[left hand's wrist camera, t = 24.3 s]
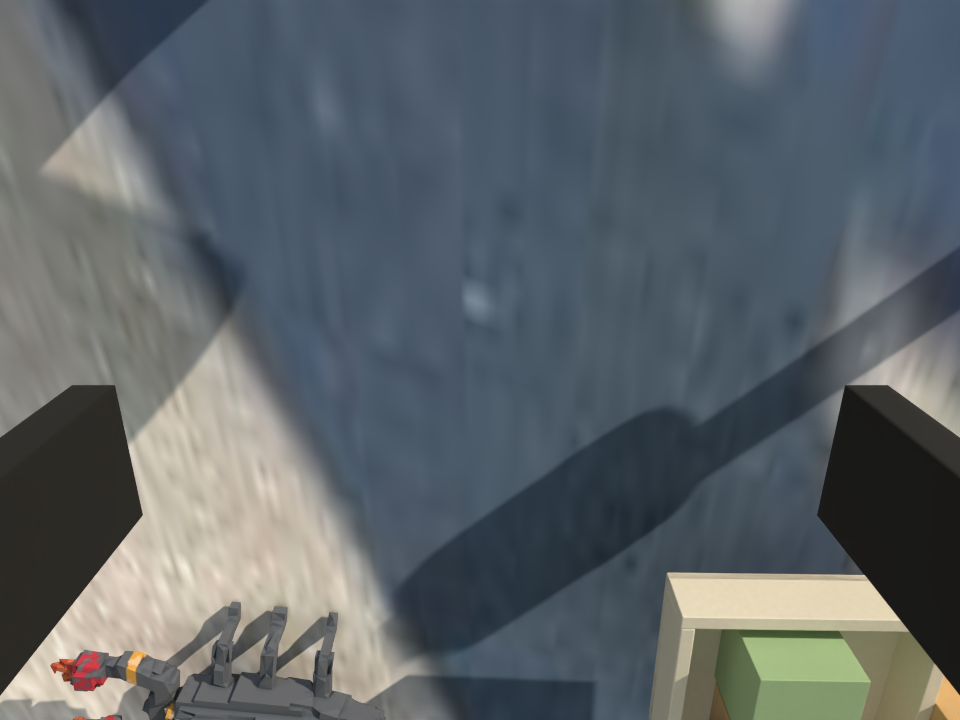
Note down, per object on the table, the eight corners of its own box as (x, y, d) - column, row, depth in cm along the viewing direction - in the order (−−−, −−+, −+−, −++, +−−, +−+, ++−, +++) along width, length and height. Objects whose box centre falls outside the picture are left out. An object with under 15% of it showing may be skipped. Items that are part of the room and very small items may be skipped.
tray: (666, 572, 39) (698, 661, 33) (1172, 578, 39) (1299, 670, 33) (644, 753, 45) (667, 859, 39) (1088, 761, 44) (1183, 870, 38)
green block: (726, 603, 39) (760, 680, 34) (822, 604, 39) (871, 681, 34) (713, 675, 41) (744, 758, 36) (805, 677, 41) (849, 760, 36)
